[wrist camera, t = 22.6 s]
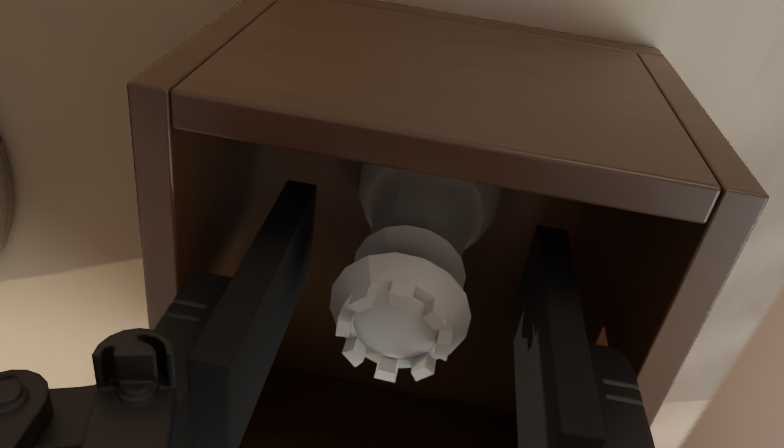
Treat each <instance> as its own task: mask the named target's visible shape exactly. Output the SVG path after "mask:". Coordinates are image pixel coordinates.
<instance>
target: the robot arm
mask: <svg viewBox="0 0 784 448" xmlns="http://www.w3.org/2000/svg"><path fill="white" fill-rule="evenodd" d="M316 191H317V185H314V184H308V183H303V182H297V181H292V180H288V181H287V182H286V184H285V186H284V188H283V190H282V191H281V193H280V195H279V197H278V198H277V200H276V202H275V204H274V205H273V207H272V209H271V211H270V212H269V214H268V216H267V218H266V220H265V221H264V223H263V225H262V227H261V228H260V230H259V232H258V234H257V235H256V237H255V239H254V241H253V242H252V244H251V246H250V248H249V250H248V251H247V253H246V255H245V257H244V258H243V260H242V262H241V264H240V265H239V267H238V269H237V271H236V273H235V274H234V276H233V277H228V276H222V275H217V274H212V273H206V272H201V273H199V274H198V275H196V276H195V277H193V278H192V279H190V280H189V281H187V282H186V283H184V284H183V286H182V287H181V289H180V290H179V292H178V293H177V295H176V296H175V298H174V299H173V303H171V304H170V305H169V307H168V308H167V310H166V311H165V314H164V316H162V317H161V319H160V320H159V322H158V323H157V325H156V326H155V328H154V329H153V330H150V329H142V328H137V329H129V330H123V331H121V332H118V333H116V334H113V335H111V336H109V337H108V338H106V339H105V340H104V341H102V342H101V343H100V344H98V346H97V348H96V349H95V351H94V353H93V354H92V359H93V365H94V371H95V378H96V385H91V386H84V387H73V388H58V389H49V388H48V383H47V381H46V380H45V379H44V378H43V377H42V376H41V375H40V374H37V373H35V372H32V371H29V370H8V371H4V372H0V448H189V447H190V445H191V448H239V445H240V443H241V440H242V438H243V435H244V433H245V430H246V428H247V425H248V423H249V420H250V418H251V416H252V413H253V411H254V408H255V406H256V403H257V401H258V398H259V396H260V393H261V391H262V388H263V386H264V383H265V381H266V378H267V376H268V373H269V371H270V368H271V366H272V363H273V361H274V358H275V356H276V353H277V351H278V348H279V346H280V344H281V341H282V339H283V336H284V334H285V331H286V329H287V326H288V324H289V321H290V319H291V316H292V314H293V311H294V309H295V306H296V304H297V301H298V299H299V296H300V294H301V291H302V289H303V286H304V284H305V281H306V279H307V276H308V274H309V271H310V265H311V253H312V240H313V228H314V216H315V203H316ZM12 215H13V187H12V178H11V173H10V168H9V163H8V159H7V156H6V153H5V149H4V146H3V143H2V140H1V137H0V253H1V252H2V249H3V247H4V245H5V243H6V241H7V238H8V235H9V231H10V228H11V222H12ZM512 318H513V341H514V363H515V386H516V408H517V430H518V448H655V446H654V442H653V438H652V435H651V431H650V427H649V423H648V419H647V416H646V412H645V408H644V406H643V400H642V397H641V393H640V390H638V388H639V385H638V381H637V378H636V374H635V370H634V367H633V366H632V364H631V363H630V362H629V360H628V359H627V358H626V356H625V355H624V354H623V352H622V351H621V350H620V349H618V348H613V347H607V346H602V345H597V344H592V343H588V340H587V335H586V329H585V324H584V319H583V313H582V308H581V303H580V298H579V292H578V287H577V282H576V276H575V271H574V266H573V260H572V255H571V250H570V244H569V239H568V234H567V230H561V229H556V228H550V227H545V226H539V225H537V227H536V230H535V234H534V237H533V240H532V243H531V247H530V250H529V253H528V257H527V260H526V263H525V267H524V270H523V273H522V276H521V280H520V283H519V286H518V290H517V293H516V296H515V300H514V303H513V306H512Z"/></svg>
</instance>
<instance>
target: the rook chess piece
mask: <svg viewBox="0 0 784 448" xmlns="http://www.w3.org/2000/svg"><path fill="white" fill-rule="evenodd" d="M501 192H502V188H500V187H494V186H489V185H483V184H478V183H472V182H467V181H461V180H455V179H450V178H444V177H439V176H433V175H428V174H422V173H417V172H411V171H405V170H400V169H394V168H389V167H383V166H378V165H372V164H367V163H364V164H363V165H362V169H361V176H360V184H359V197H360V200H361V204H362V207H363V210H364V213H365V217H366V219H367V221H368V222H369V223H370V226H371V235H370V236H368V237H366V239H365V240H364V242H363V243H362V244H361V246H360V247H359V248H358V250H357V251H356V253H355V260H354V263H353V264H351V265H349V266H347V267H345V269H344V270H343V271H342V273H341V274H340V276H339V277H338V278H337V280H336V281H335V283H334V284H333V285H332V291H331V300H330V310H331V312H332V315H333V318H334V321H335V323H336V326H337V328H336V336H341V337H345V338H346V342H345V345H344V348H343V351H342V354H343V355H344V356H345V357H346V358H347V359H348V360H349V361H350V362H351V363H352V365H353V366H354V367H357V366H358V365H359V364H361V363H362V362H363V361H364V358H365V357H367V358H368V359H370V360H372V361H374V362H375V363H377V368H376V371H375V375H374V378H377V379H381V380H385V381H390V382H394V383H395V381H396V376H397V372H398V368H411V374H412V375H413V377H414V379H415V380H416V381H418V380H421V379H423V378H426V377H428V376H430V375H433V374H434V371H435V364H436V360H437V359H442V360H444V361H446V360H447V356H448V355H449V354H451V353H452V351H453V350H454V349H455V348H456V347H457V346H458V345H459V344H460V343H461V342H462V341H463V340H464V339H465V338H466V335H467V331H468V327H469V324H470V320H471V313H470V309H469V304H468V300H467V296H466V293H465V292H464V291H463V286H464V283H465V279H466V275H465V270H464V266H463V262H462V258H461V256H462V254H463V251H464V250H465V249H467V248H468V246H470V245H472V244H474V243H476V242H477V240H478V239H479V238H480V237H481V236H482V235H483V233H484V232H485V231H486V230H487V229H488V228H489V226H490V225H491V224H492V222H493V221H494V220H495V216H496V213H497V209H498V206H499V202H500V198H501Z"/></svg>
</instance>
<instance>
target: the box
mask: <svg viewBox="0 0 784 448" xmlns="http://www.w3.org/2000/svg"><path fill="white" fill-rule="evenodd" d="M127 91H128V102H129V113H130V124H131V135H132V146H133V157H134V168H135V178H136V189H137V200H138V211H139V222H140V233H141V244H142V255H143V266H144V277H145V288H146V299H147V310H148V321H149V329H150V330H153V329H154V328H155V326H156V325H157V323H158V322H159V320H160V319H161V317H162V316H164V314H165V311H166V310H167V308H168V307H169V305H170V304H171V303H173V299H174V298H175V296H176V295H177V293H178V292H179V290H180V289H181V287H182V286H183V284H184V283H186V282H187V281H189V280H190V279H192V278H193V277H195V276H196V275H198V274H199V273H201V272H206V273H212V274H217V275H222V276H228V277H233V276H234V274H235V273H236V271H237V269H238V267H239V265H240V264H241V262H242V260H243V258H244V257H245V255H246V253H247V251H248V250H249V248H250V246H251V244H252V242H253V241H254V239H255V237H256V235H257V234H258V232H259V230H260V228H261V227H262V225H263V223H264V221H265V220H266V218H267V216H268V214H269V212H270V211H271V209H272V207H273V205H274V204H275V202H276V200H277V198H278V197H279V195H280V193H281V191H282V190H283V188H284V186H285V184H286V182H287V181H288V180H292V181H297V182H303V183H308V184H314V185H317V191H316V203H315V216H314V228H313V240H312V253H311V265H310V271H309V274H308V276H307V279H306V281H305V284H304V286H303V289H302V291H301V294H300V296H299V299H298V301H297V304H296V306H295V309H294V311H293V314H292V316H291V319H290V321H289V324H288V326H287V329H286V331H285V334H284V336H283V339H282V341H281V344H280V346H279V348H278V351H277V353H276V356H275V358H274V361H273V363H272V366H271V368H270V371H269V373H268V376H267V378H266V381H265V383H264V386H263V388H262V391H261V393H260V396H259V398H258V401H257V403H256V406H255V408H254V411H253V413H252V416H251V418H250V420H249V423H248V425H247V428H246V430H245V433H244V435H243V438H242V440H241V443H240V445H239V448H518V430H517V408H516V386H515V363H514V341H513V318H512V306H513V303H514V300H515V296H516V293H517V290H518V286H519V283H520V280H521V276H522V273H523V270H524V267H525V263H526V260H527V257H528V253H529V250H530V247H531V243H532V240H533V237H534V234H535V230H536V227H537V225H539V226H545V227H550V228H556V229H561V230H567V234H568V239H569V244H570V250H571V255H572V260H573V266H574V271H575V276H576V282H577V287H578V292H579V298H580V303H581V308H582V313H583V319H584V324H585V329H586V335H587V340H588V343H592V344H597V345H602V346H607V347H613V348H618V349H620V350H621V351H622V352H623V354H624V355H625V356H626V358H627V359H628V360H629V362H630V363H631V364H632V366H633V367H634V370H635V374H636V378H637V381H638V385H639V388H638V390H640V393H641V397H642V400H643V406H644V408H645V412H646V416H647V419H648V423H649V427H650V426H651V424H652V423H653V421H654V419H655V417H656V415H657V413H658V411H659V409H660V407H661V405H662V403H663V401H664V399H665V397H666V396H667V394H668V392H669V390H670V388H671V386H672V384H673V382H674V380H675V378H676V376H677V374H678V372H679V370H680V369H681V367H682V365H683V363H684V361H685V359H686V357H687V355H688V353H689V351H690V349H691V347H692V345H693V343H694V342H695V340H696V338H697V336H698V334H699V332H700V330H701V328H702V326H703V324H704V322H705V320H706V318H707V316H708V315H709V313H710V311H711V309H712V307H713V305H714V303H715V301H716V299H717V297H718V295H719V293H720V291H721V289H722V288H723V286H724V284H725V282H726V280H727V278H728V276H729V274H730V272H731V270H732V268H733V266H734V264H735V262H736V261H737V259H738V257H739V255H740V253H741V251H742V249H743V247H744V245H745V243H746V241H747V239H748V237H749V236H750V234H751V232H752V230H753V228H754V226H755V224H756V222H757V220H758V218H759V216H760V214H761V212H762V210H763V209H764V207H765V205H766V203H767V201H768V198H769V196H768V195H767V193H766V192H765V190H764V189H763V188H762V186H761V185H760V184H759V182H758V181H757V180H756V178H755V177H754V176H753V174H752V173H751V172H750V170H749V169H748V168H747V166H746V165H745V164H744V162H743V161H742V160H741V158H740V157H739V156H738V154H737V153H736V152H735V150H734V149H733V148H732V146H731V145H730V144H729V142H728V141H727V139H726V138H725V137H724V135H723V134H722V133H721V131H720V130H719V129H718V127H717V126H716V125H715V123H714V122H713V121H712V119H711V118H710V117H709V115H708V114H707V113H706V111H705V110H704V109H703V107H702V106H701V105H700V103H699V102H698V101H697V99H696V98H695V97H694V95H693V94H692V93H691V91H690V90H689V88H688V87H687V86H686V84H685V83H684V82H683V80H682V79H681V78H680V76H679V75H678V74H677V72H676V71H675V70H674V68H673V67H672V66H671V64H670V63H669V62H668V60H667V59H666V58H665V57H664V56H663V54H662V53H661V52H660V50H659V49H656V48H651V47H645V46H639V45H633V44H627V43H621V42H615V41H610V40H604V39H598V38H592V37H586V36H580V35H574V34H568V33H563V32H557V31H551V30H545V29H539V28H533V27H527V26H521V25H516V24H510V23H504V22H498V21H492V20H486V19H480V18H475V17H469V16H463V15H457V14H451V13H445V12H439V11H433V10H428V9H422V8H416V7H410V6H404V5H398V4H392V3H386V2H381V1H375V0H242V1H241V2H239V3H238V4H236V5H235V6H234V7H232V8H231V9H229V10H228V11H227V12H225V13H224V14H222V15H221V16H220V17H218V18H217V19H216V20H214V21H213V22H211V23H210V24H209V25H207V26H206V27H204V28H203V29H202V30H200V31H199V32H197V33H196V34H195V35H193V36H192V37H190V38H189V39H188V40H186V41H185V42H183V43H182V44H181V45H179V46H178V47H176V48H175V49H174V50H172V51H171V52H169V53H168V54H167V55H165V56H164V57H162V58H161V59H160V60H158V61H157V62H155V63H154V64H153V65H151V66H150V67H148V68H147V69H146V70H144V71H143V72H141V73H140V74H139V75H137V76H136V77H134V78H133V79H132V80H130V81H129V82H128V84H127ZM364 163H367V164H372V165H378V166H383V167H389V168H394V169H400V170H405V171H411V172H417V173H422V174H428V175H433V176H439V177H444V178H450V179H455V180H461V181H467V182H472V183H478V184H483V185H489V186H494V187H500V188H502V192H501V198H500V202H499V206H498V209H497V213H496V216H495V220H494V221H493V222H492V224H491V225H490V226H489V228H488V229H487V230H486V231H485V232H484V233H483V235H482V236H481V237H480V238H479V239H478V240H477V242H476V243H474V244H472V245H470V246H468V248H467V249H465V250H464V251H463V254H462V256H461V258H462V262H463V266H464V270H465V275H466V279H465V283H464V286H463V291H464V292H465V293H466V296H467V300H468V304H469V309H470V313H471V320H470V324H469V327H468V331H467V335H466V338H465V339H464V340H463V341H462V342H461V343H460V344H459V345H458V346H457V347H456V348H455V349H454V350H453V351H452V353H451V354H449V355H448V356H447V360H446V361H444V360H442V359H437V360H436V364H435V371H434V374H433V375H430V376H428V377H426V378H423V379H421V380H418V381H416V380H415V379H414V377H413V375H412V374H411V368H398V372H397V376H396V381H395V383H394V382H390V381H385V380H381V379H377V378H374V375H375V371H376V368H377V363H375V362H374V361H372V360H370V359H368V358H367V357H365V358H364V361H363V362H362V363H361V364H359V365H358V366H357V367H354V366H353V365H352V363H351V362H350V361H349V360H348V359H347V358H346V357H345V356H344V355H343V354H342V351H343V348H344V345H345V342H346V338H345V337H341V336H336V328H337V326H336V323H335V321H334V318H333V315H332V312H331V310H330V300H331V291H332V285H333V284H334V283H335V281H336V280H337V278H338V277H339V276H340V274H341V273H342V271H343V270H344V269H345V267H347V266H349V265H351V264H353V263H354V260H355V253H356V251H357V250H358V248H359V247H360V246H361V244H362V243H363V242H364V240H365V239H366V237H368V236H370V235H371V226H370V223H369V222H368V221H367V219H366V217H365V213H364V210H363V207H362V204H361V200H360V197H359V184H360V176H361V169H362V165H363V164H364ZM189 448H191V445H190V447H189Z"/></svg>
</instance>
